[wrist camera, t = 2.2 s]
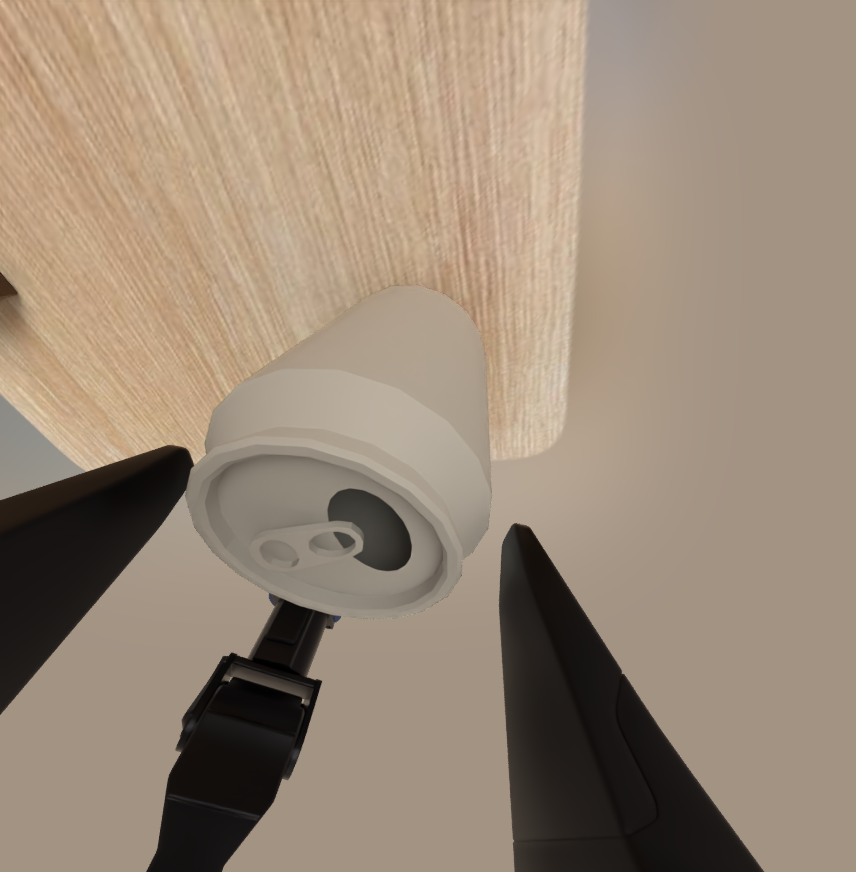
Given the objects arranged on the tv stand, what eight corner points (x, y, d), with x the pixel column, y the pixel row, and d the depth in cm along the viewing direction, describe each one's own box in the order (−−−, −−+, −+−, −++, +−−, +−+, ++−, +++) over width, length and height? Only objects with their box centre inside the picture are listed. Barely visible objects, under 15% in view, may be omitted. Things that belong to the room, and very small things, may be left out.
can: (491, 411, 18) (505, 648, 8) (370, 423, 19) (258, 630, 10) (477, 266, 14) (472, 383, 4) (325, 296, 15) (51, 433, 5)
